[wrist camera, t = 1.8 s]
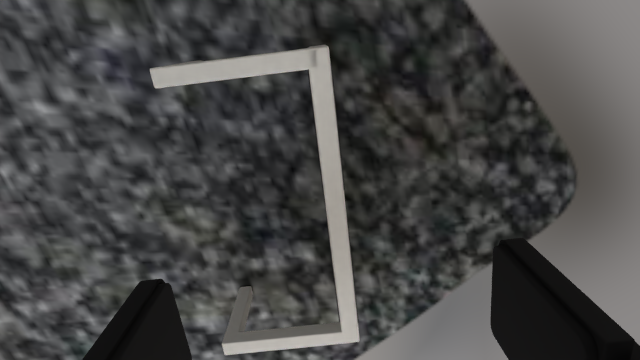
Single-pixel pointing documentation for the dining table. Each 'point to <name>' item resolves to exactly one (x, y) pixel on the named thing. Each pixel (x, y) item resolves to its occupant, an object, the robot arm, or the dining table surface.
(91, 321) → the dining table surface
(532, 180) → the dining table surface
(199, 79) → the white sunglasses
